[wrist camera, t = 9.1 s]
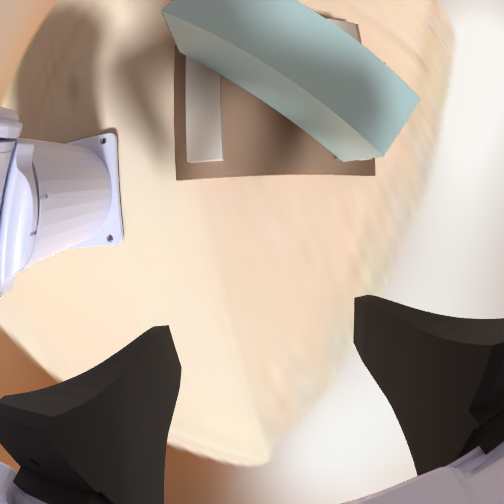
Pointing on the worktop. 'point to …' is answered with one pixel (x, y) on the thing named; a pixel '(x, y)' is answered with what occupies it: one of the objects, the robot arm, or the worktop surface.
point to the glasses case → (298, 69)
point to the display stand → (244, 130)
